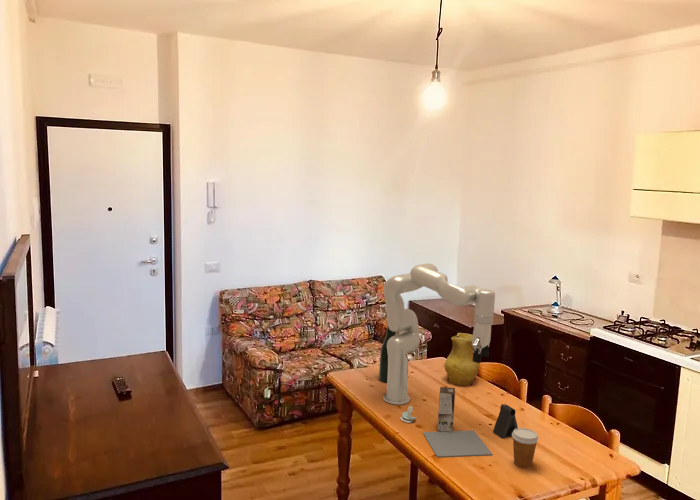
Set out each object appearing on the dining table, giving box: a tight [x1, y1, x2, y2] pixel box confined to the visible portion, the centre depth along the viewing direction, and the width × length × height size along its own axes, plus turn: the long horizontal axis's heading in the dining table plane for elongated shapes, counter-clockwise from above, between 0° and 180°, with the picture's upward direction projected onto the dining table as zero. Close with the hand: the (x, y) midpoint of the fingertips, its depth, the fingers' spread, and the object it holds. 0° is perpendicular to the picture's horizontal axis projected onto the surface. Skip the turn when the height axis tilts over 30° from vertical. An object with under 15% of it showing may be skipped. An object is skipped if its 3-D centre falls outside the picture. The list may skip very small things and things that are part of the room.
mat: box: [422, 429, 493, 458], centre depth 221 cm, size 20×22×1 cm
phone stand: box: [492, 403, 519, 439], centre depth 231 cm, size 9×6×12 cm, turn 114°
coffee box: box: [437, 386, 456, 432], centre depth 234 cm, size 9×6×16 cm
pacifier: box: [399, 405, 417, 424], centre depth 241 cm, size 7×6×6 cm
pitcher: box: [443, 332, 481, 387], centre depth 288 cm, size 17×19×25 cm
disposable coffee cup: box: [511, 427, 539, 469], centre depth 206 cm, size 10×10×12 cm
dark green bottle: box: [378, 321, 397, 384], centre depth 287 cm, size 10×10×33 cm
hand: (480, 359), depth 231 cm, fingers open, 9 cm apart
